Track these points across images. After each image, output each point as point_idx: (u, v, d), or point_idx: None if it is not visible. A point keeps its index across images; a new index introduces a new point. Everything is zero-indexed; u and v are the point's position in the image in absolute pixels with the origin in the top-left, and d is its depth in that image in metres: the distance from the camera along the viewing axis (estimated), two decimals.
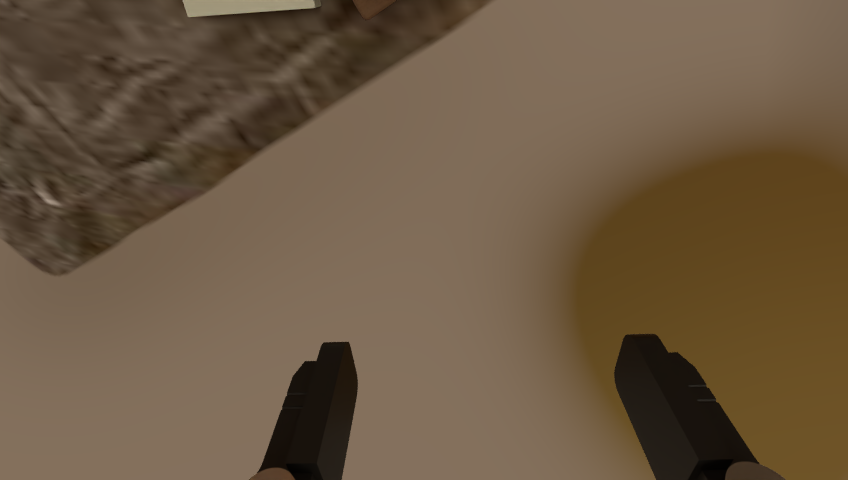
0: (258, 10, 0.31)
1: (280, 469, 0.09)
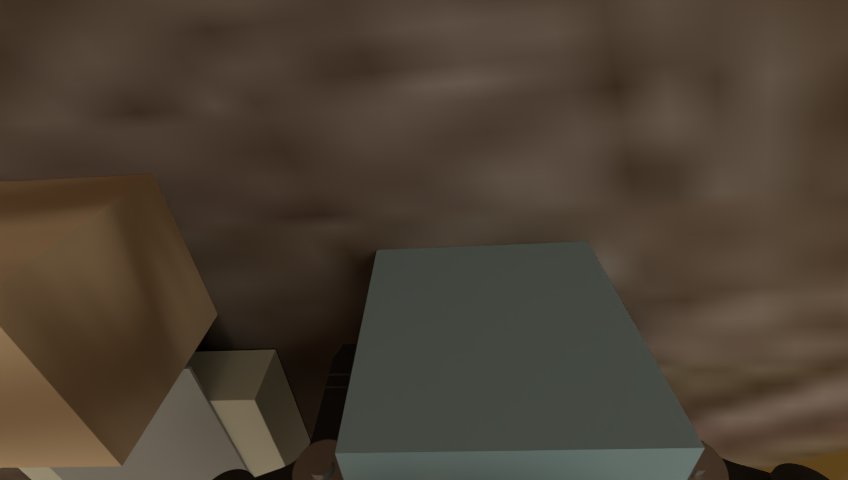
0: None
1: (333, 441, 0.09)
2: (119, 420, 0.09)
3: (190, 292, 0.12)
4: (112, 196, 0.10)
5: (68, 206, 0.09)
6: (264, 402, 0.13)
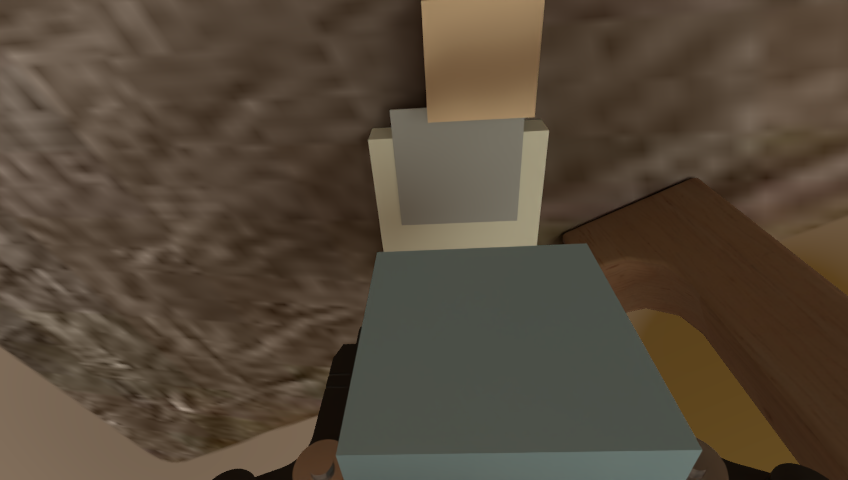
0: None
1: (333, 441, 0.09)
2: None
3: None
4: None
5: None
6: (546, 139, 0.23)
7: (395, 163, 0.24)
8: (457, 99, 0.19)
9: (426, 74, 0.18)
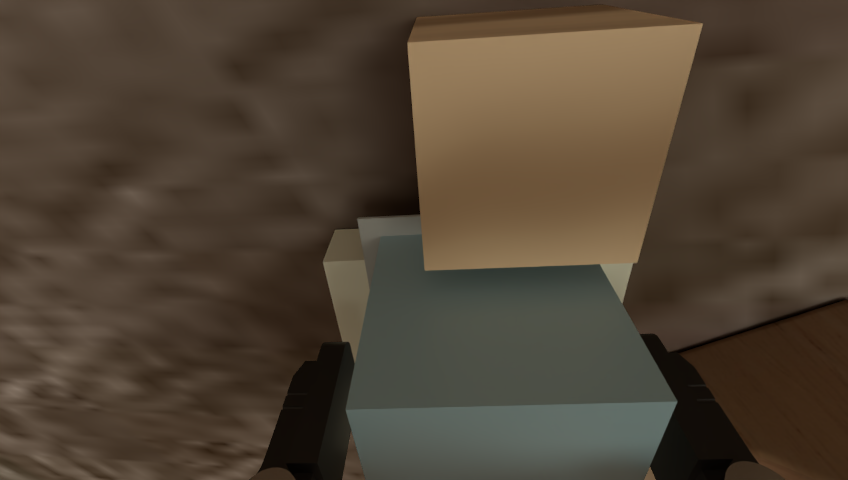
0: None
1: (280, 469, 0.09)
2: None
3: None
4: (610, 8, 0.10)
5: (583, 12, 0.10)
6: None
7: None
8: (485, 232, 0.09)
9: (421, 189, 0.09)
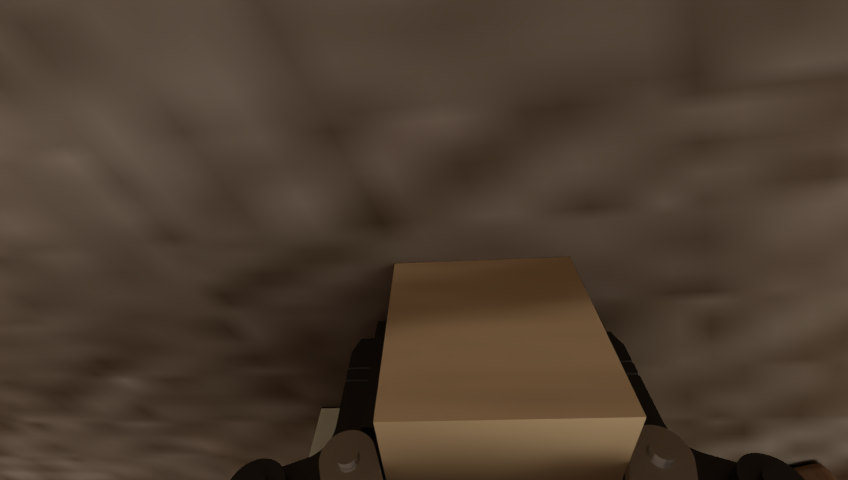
0: None
1: (357, 432, 0.09)
2: None
3: None
4: (575, 287, 0.10)
5: (548, 299, 0.10)
6: None
7: None
8: None
9: None
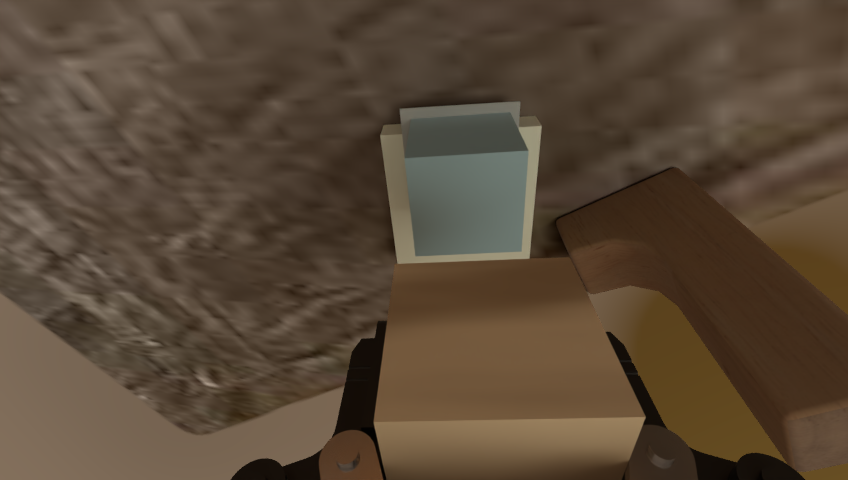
0: None
1: (357, 432, 0.09)
2: None
3: None
4: (574, 288, 0.11)
5: (548, 299, 0.10)
6: (539, 134, 0.26)
7: (404, 156, 0.27)
8: None
9: None
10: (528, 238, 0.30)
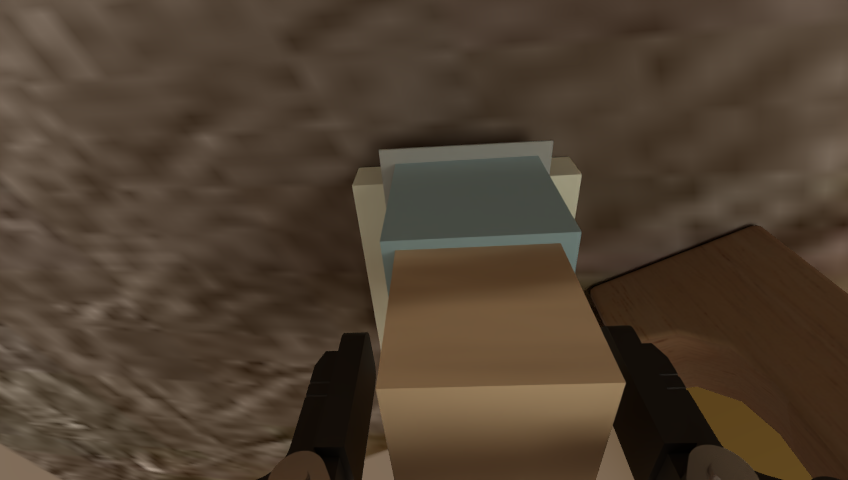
0: None
1: (309, 452, 0.09)
2: None
3: None
4: (564, 270, 0.11)
5: (539, 281, 0.11)
6: (577, 184, 0.18)
7: None
8: None
9: (393, 463, 0.10)
10: None
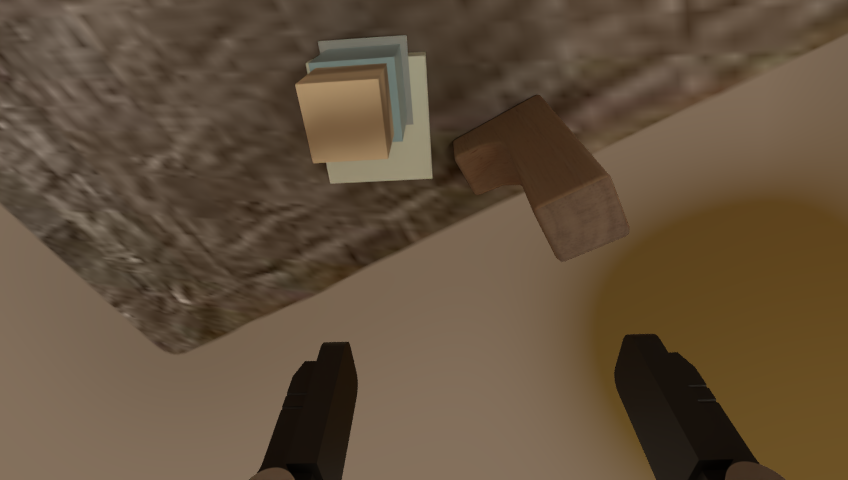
0: (387, 179, 0.40)
1: (280, 469, 0.09)
2: (387, 142, 0.27)
3: (391, 116, 0.30)
4: (381, 67, 0.27)
5: (368, 69, 0.27)
6: (425, 63, 0.34)
7: None
8: (331, 147, 0.26)
9: (306, 131, 0.26)
10: (428, 152, 0.38)
